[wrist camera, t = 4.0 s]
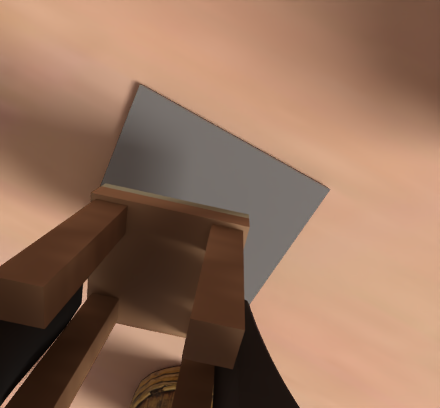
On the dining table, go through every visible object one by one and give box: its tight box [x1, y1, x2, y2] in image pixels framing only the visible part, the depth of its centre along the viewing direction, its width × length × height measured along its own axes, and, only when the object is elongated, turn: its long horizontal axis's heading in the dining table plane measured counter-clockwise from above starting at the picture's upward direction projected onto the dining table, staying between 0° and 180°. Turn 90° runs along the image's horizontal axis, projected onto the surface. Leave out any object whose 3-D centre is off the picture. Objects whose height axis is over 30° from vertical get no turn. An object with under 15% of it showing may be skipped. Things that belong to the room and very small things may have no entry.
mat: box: [100, 84, 330, 304], centre depth 18 cm, size 12×12×1 cm
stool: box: [0, 183, 250, 408], centre depth 10 cm, size 6×6×6 cm
